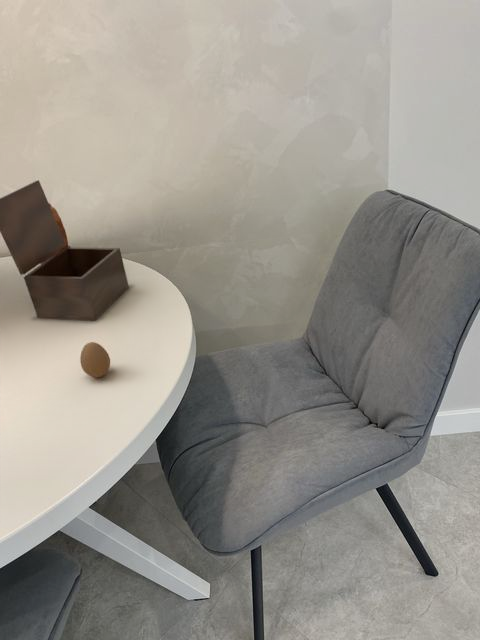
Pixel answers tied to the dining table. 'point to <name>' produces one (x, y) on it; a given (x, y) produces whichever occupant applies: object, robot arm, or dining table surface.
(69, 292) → the chest
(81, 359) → the egg
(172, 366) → the dining table surface
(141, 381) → the dining table surface
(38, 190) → the chest lid
